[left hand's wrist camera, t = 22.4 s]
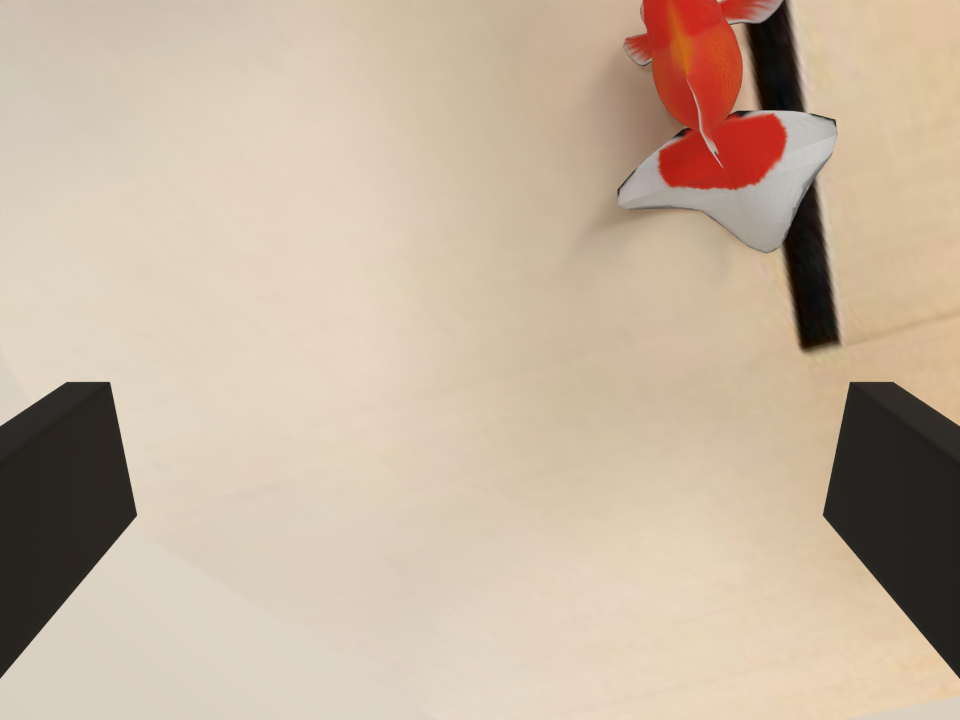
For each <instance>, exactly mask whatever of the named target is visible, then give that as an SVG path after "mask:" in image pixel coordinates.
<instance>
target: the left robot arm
mask: <svg viewBox="0 0 960 720" xmlns="http://www.w3.org/2000/svg"><path fill="white" fill-rule="evenodd" d="M136 516H137V512H136V507H135V503H134V498H133V493H132V488H131V483H130V478H129V473H128V468H127V463H126V458H125V453H124V448H123V444H122V439H121V434H120V429H119V424H118V419H117V414H116V409H115V404H114V399H113V394H112V389H111V385H110V382H66V383H65V384H63V385H62V386H60V387H59V388H57V389H56V390H54V391H53V392H51V393H50V394H48V395H47V396H45V397H44V398H42V399H41V400H39V401H38V402H36V403H35V404H33V405H32V406H30V407H29V408H27V409H26V410H24V411H23V412H21V413H20V414H18V415H17V416H15V417H14V418H12V419H11V420H9V421H8V422H6V423H5V424H3V425H2V426H0V678H1V677H2V676H3V675H4V673H5V672H6V671H7V670H8V669H9V668H10V666H11V665H12V664H13V663H14V662H15V660H16V659H17V658H18V657H19V656H20V654H21V653H22V652H23V651H24V650H25V648H26V647H27V646H28V645H29V644H30V642H31V641H32V640H33V639H34V638H35V637H36V635H37V634H38V633H39V632H40V631H41V629H42V628H43V627H44V626H45V625H46V623H47V622H48V621H49V620H50V619H51V617H52V616H53V615H54V614H55V613H56V612H57V610H58V609H59V608H60V607H61V606H62V604H63V603H64V602H65V601H66V600H67V598H68V597H69V596H70V595H71V594H72V592H73V591H74V590H75V589H76V588H77V586H78V585H79V584H80V583H81V582H82V581H83V579H84V578H85V577H86V576H87V575H88V573H89V572H90V571H91V570H92V569H93V567H94V566H95V565H96V564H97V563H98V562H99V560H100V559H101V558H102V557H103V556H104V554H105V553H106V552H107V551H108V550H109V548H110V547H111V546H112V545H113V544H114V542H115V541H116V540H117V539H118V538H119V536H120V535H121V534H122V533H123V532H124V531H125V529H126V528H127V527H128V526H129V525H130V523H131V522H132V521H133V520H134V519H135V517H136ZM823 516H824V517H825V519H826V520H827V521H828V522H829V523H830V525H831V526H832V527H833V528H834V529H835V531H836V532H837V533H838V534H839V535H840V536H841V538H842V539H843V540H844V541H845V542H846V544H847V545H848V546H849V547H850V548H851V550H852V551H853V552H854V553H855V554H856V556H857V557H858V558H859V559H860V560H861V562H862V563H863V564H864V565H865V566H866V567H867V569H868V570H869V571H870V572H871V573H872V575H873V576H874V577H875V578H876V579H877V581H878V582H879V583H880V584H881V585H882V587H883V588H884V589H885V590H886V591H887V592H888V594H889V595H890V596H891V597H892V598H893V600H894V601H895V602H896V603H897V604H898V606H899V607H900V608H901V609H902V610H903V612H904V613H905V614H906V615H907V616H908V618H909V619H910V620H911V621H912V622H913V623H914V625H915V626H916V627H917V628H918V629H919V631H920V632H921V633H922V634H923V635H924V637H925V638H926V639H927V640H928V641H929V643H930V644H931V645H932V646H933V647H934V648H935V650H936V651H937V652H938V653H939V654H940V656H941V657H942V658H943V659H944V660H945V662H946V663H947V664H948V665H949V666H950V668H951V669H952V670H953V671H954V672H955V674H956V675H957V676H958V677H959V678H960V426H958V425H957V424H955V423H954V422H952V421H951V420H949V419H948V418H946V417H945V416H943V415H942V414H940V413H939V412H937V411H936V410H934V409H933V408H931V407H930V406H928V405H927V404H925V403H924V402H922V401H921V400H919V399H918V398H916V397H915V396H913V395H912V394H910V393H909V392H907V391H906V390H904V389H903V388H901V387H900V386H898V385H897V384H895V383H894V382H850V384H849V389H848V394H847V399H846V404H845V409H844V414H843V419H842V424H841V429H840V434H839V439H838V444H837V448H836V453H835V458H834V463H833V468H832V473H831V478H830V483H829V488H828V493H827V498H826V503H825V507H824V512H823Z"/></svg>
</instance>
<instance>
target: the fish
mask: <svg viewBox="0 0 960 720" xmlns="http://www.w3.org/2000/svg"><path fill="white" fill-rule="evenodd" d="M783 1H784V0H722V1H720V2H717V1H716V0H643V1H642V4H641V8H640V13H641V18H642V20H643V22H644V24H645V25H646V28H647V33H646V34H642V35H637V36H634V37H629V38H626V40H625V44H624V45H623V47H624V49H625V51H626V52H627V54H628V55H629V57H631V58H632V59H633V60H634V61H635V62H636V63H637V64H639V65H641V66H645V65H647V64H649V63H650V62H652V69H653V77H654V82H655V85H656V88H657V91H658V94H659V96H660V98H661V100H662V102H663V104H664V105H665V107H666V108H667V110H668V111H669V113H670V114H671V115H672V116H673V117H674V118H675V119H676V120H677V121H679V122H680V123H682V124H683V125H685V126H687V127H689V128H687V129H683V130H682V131H680V132H679V133H678V134H677V135H675V136H674V137H673V138H671V139H670V140H669V141H668V142H666V143H665V144H664V145H663V146H661V147H660V148H659V149H658V150H656V151H655V152H654V153H653V154H651V155H650V156H649V157H648V158H647V159H646V160H645V161H644V162H642V163H641V164H640V165H639V166H638V167H637V168H636V169H635V170H634V171H633V173H632V174H631V175H630V176H629V177H628V178H627V179H626V181H625V182H624V183H623V184H622V185H621V186H620V188H619V189H618V206H620V207H623V208H626V209H629V210H632V209H662V208H681V209H690V210H698V211H703V212H704V213H705V214H707V215H708V216H710V217H711V218H712V219H714V220H715V221H716V222H718V223H719V224H721V225H722V226H724V227H725V228H726V229H728V230H729V231H730V232H731V233H732V234H733V235H735V236H736V237H737V238H738V239H739V240H740V241H742V242H743V243H744V244H745V245H747V246H748V247H750V248H753V249H755V250H758V251H761V252H763V253H770V252H773V251H775V250H776V249H778V248H779V247H780V246H781V244H782V243H783V241H784V239H785V238H786V236H787V233H788V230H789V228H790V225H791V223H792V220H793V218H794V216H795V214H796V211H797V209H798V207H799V205H800V202H801V200H802V199H803V197H804V195H805V193H806V192H807V190H808V188H809V186H810V185H811V183H812V181H813V179H814V178H815V176H816V175H817V174H818V172H819V171H820V170H821V169H822V167H823V166H824V165H825V163H826V162H827V161H828V159H829V158H830V157H831V155H832V152H833V148H834V145H835V142H836V138H837V135H838V133H837V127H836V120H835V119H831V118H827V117H823V116H819V115H815V114H810V113H802V112H794V111H736V112H734V113H732V114H730V112H731V110H732V108H733V106H734V104H735V101H736V99H737V96H738V94H739V91H740V88H741V83H742V72H743V64H742V57H741V53H740V49H739V46H738V43H737V40H736V36H735V34H734V32H733V30H732V28H731V26H730V25H732V24H738V23H749V24H760V23H762V22H764V21H766V20H767V19H768V18H769V17H770V16H771V15H772V14H773V13H774V12H775V11H776V10H777V9H778V8H779V6H780V5H781V3H782V2H783ZM729 114H730V115H729Z"/></svg>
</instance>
